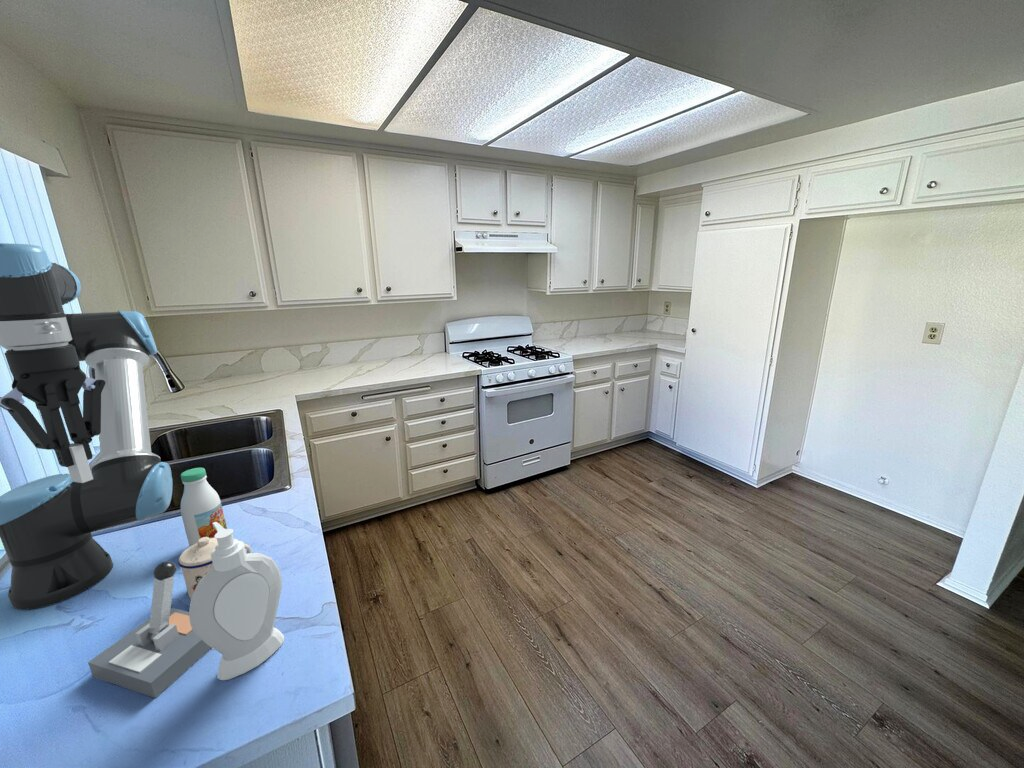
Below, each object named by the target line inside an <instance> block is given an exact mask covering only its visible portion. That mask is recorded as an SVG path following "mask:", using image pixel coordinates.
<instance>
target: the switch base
mask: <svg viewBox="0 0 1024 768" xmlns="http://www.w3.org/2000/svg"><path fill="white" fill-rule="evenodd" d="M149 625H150V617H149V618H148V619H146V620H145V621H144V622H141V624H140V625H138V626H137V627H135V628H134V629H132V630H131V631H129V632H128V633H127V634H126V635H124V636H123V637H122V638H120V639H118V640H117V641H116V642H114V643H113V644H111V645H110V646H109V647H107V648H106V649H104V650H103V651H102V652H100V653H99V654H98V655H96V656H95V657H93V658H92V659H90V660H89V661H87V665H88V667H89V669H90V672H91V674H92V677H93V678H95V679H97V680H101V681H104V682H107V683H109V682H110V683H109V684H112V683H113V685H115V684H116V685H115V686H118V685H119V687H122V688H125V689H127V688H128V689H127V690H131V691H134V692H137V693H140V694H143V695H144V696H148V697H152V698H154V699H157V697H159V696H160V695H161V694H162V693H163V692H165V691H166V690H167V689H168V688H169V687H170V686H171V685H172V684H174V682H175V681H176V680H178V679H179V678H180V677H181V676H182V675H183V674H185V672H187V671H188V670H189V669H190V668H192V666H193V665H194V664H196V663H197V662H198V661H199V660H200V659H201V658H202V657H203V656H204V655H206V654H207V653H208V652H209V651H210V650H211V649H213V648H212V647H210V646H209V645H207V644H206V643H205V642H204V641H203V640H202V639H201V638H199V637H198V636H197V635H196V633H195V632H194V631H193V629H192V627H191V624H190V618H189V611H187V610H183V609H178V608H175V607H171V608H170V617H169V626H168V627H167V628H166V629H164V630H163V631H162V632H160V633H159V634H158V635H156V636H155V637H154V638H153V641H154V642H153V641H149V640H147V635H148V633H149Z"/></svg>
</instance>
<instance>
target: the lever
mask: <svg viewBox="0 0 1024 768" xmlns="http://www.w3.org/2000/svg"><path fill="white" fill-rule="evenodd" d="M176 572H177V565H176V564H175V563H174V562H173V561H164V562H161V563H159V564H158V565H157V566H156V567H155V568H154V570H153V577H154V581H153V582H154V583H153V589H152V590H153V592H152V598H151V608H150V617H149V618H150V625H149V633H148V635H147V640H149V641H153V638H154V637H155V636H156V635H158V634H159V633H160V632H162V631H163V630H164V629H166V628H167V627H168V626H169V617H170V608H172V607H171V606H172V597H173V589H174V580H175V574H176ZM153 642H154V641H153Z"/></svg>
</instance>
